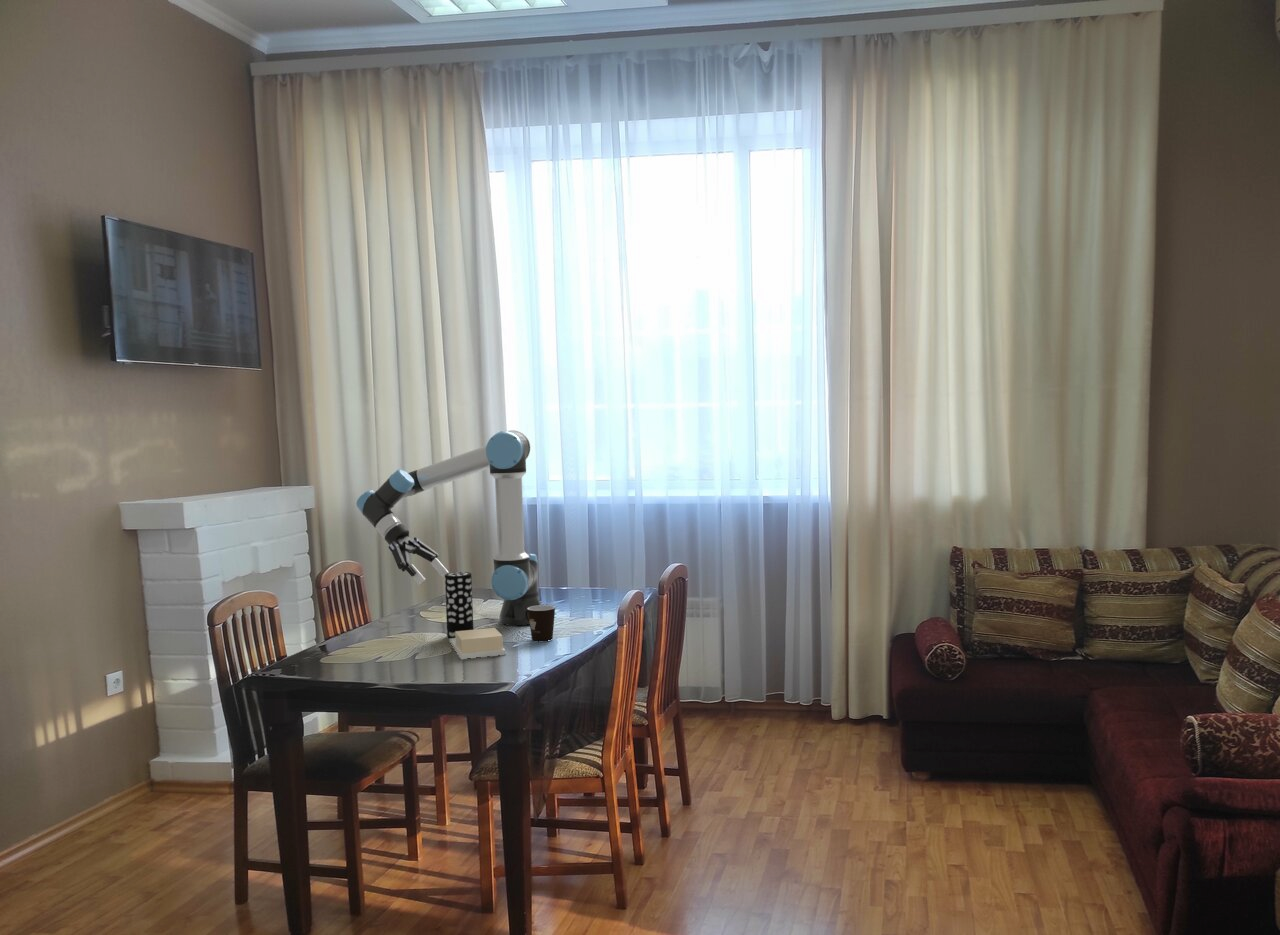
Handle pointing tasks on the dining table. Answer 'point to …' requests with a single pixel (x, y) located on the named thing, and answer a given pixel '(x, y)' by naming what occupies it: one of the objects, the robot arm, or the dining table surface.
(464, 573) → the spotted tube
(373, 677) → the dining table surface
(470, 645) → the stand
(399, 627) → the dining table surface
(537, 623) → the coffee mug
